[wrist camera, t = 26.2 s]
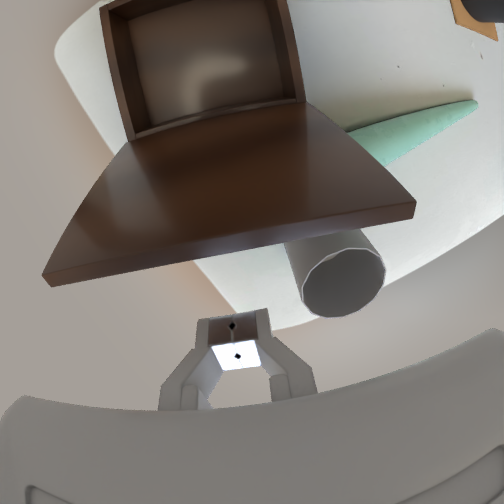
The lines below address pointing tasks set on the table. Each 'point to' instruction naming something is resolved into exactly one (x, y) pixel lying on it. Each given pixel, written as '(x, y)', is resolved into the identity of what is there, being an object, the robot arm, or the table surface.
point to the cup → (336, 272)
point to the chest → (198, 60)
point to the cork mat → (472, 21)
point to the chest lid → (225, 193)
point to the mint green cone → (409, 130)
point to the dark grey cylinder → (485, 10)
